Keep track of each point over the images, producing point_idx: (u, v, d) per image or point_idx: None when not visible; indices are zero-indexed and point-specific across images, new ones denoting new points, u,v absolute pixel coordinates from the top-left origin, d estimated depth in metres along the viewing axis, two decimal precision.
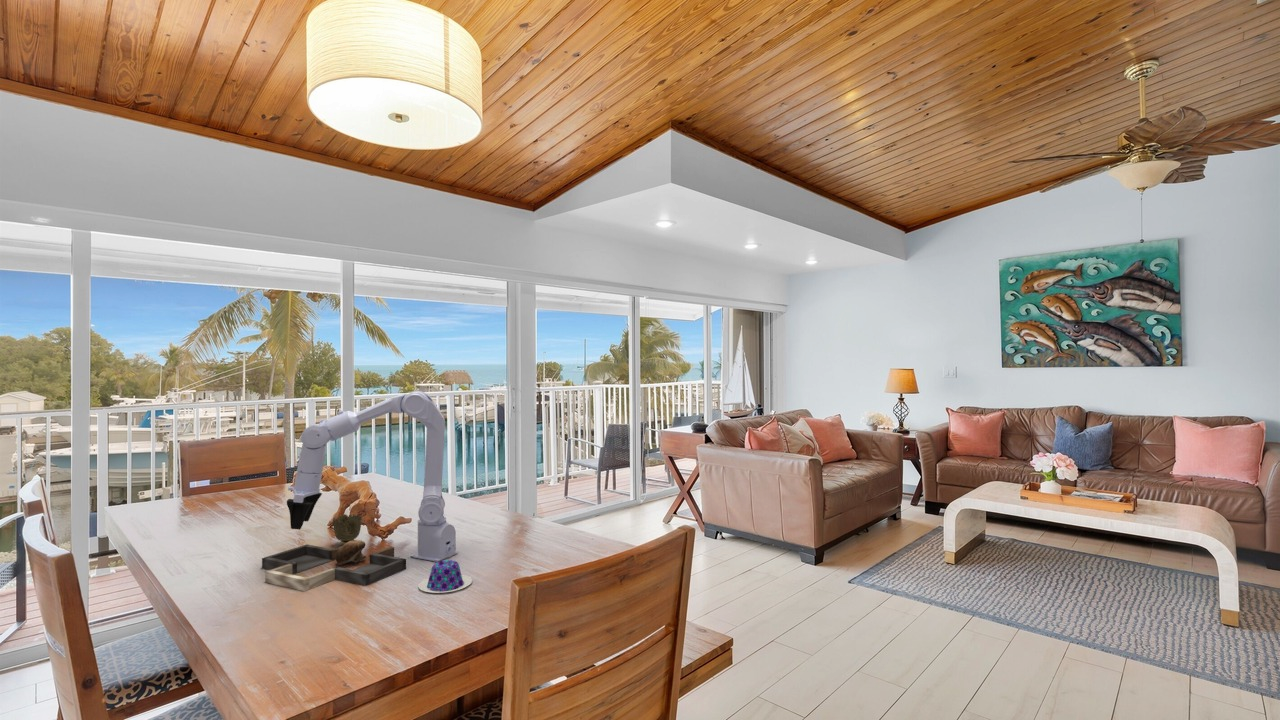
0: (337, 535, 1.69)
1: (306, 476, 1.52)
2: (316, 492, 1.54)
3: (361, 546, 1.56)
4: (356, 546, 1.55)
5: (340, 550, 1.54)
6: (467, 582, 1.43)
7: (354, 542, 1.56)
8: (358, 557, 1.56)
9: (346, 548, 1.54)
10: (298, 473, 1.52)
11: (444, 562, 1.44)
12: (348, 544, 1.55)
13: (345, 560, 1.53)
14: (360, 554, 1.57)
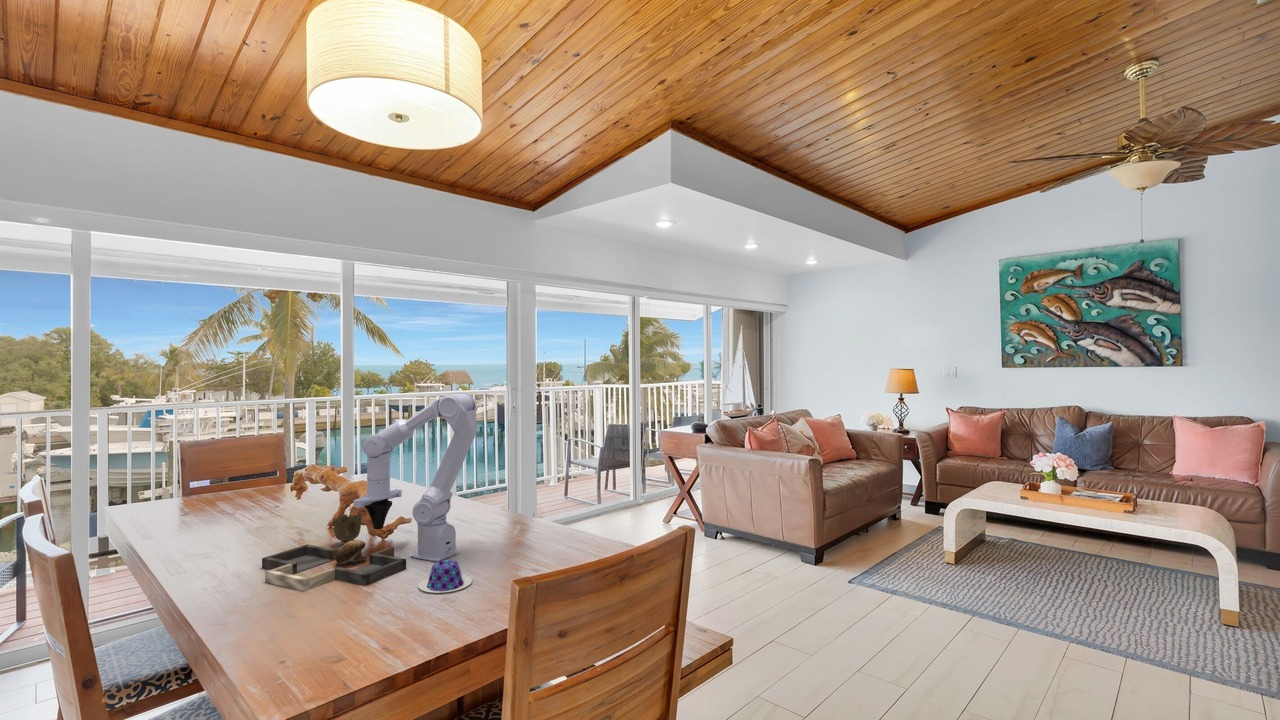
0: (337, 535, 1.69)
1: (370, 483, 1.63)
2: (381, 498, 1.63)
3: (361, 546, 1.56)
4: (356, 546, 1.55)
5: (340, 550, 1.54)
6: (467, 582, 1.43)
7: (354, 542, 1.56)
8: (358, 557, 1.56)
9: (346, 548, 1.54)
10: (367, 480, 1.64)
11: (444, 562, 1.44)
12: (348, 544, 1.55)
13: (345, 560, 1.53)
14: (360, 554, 1.57)
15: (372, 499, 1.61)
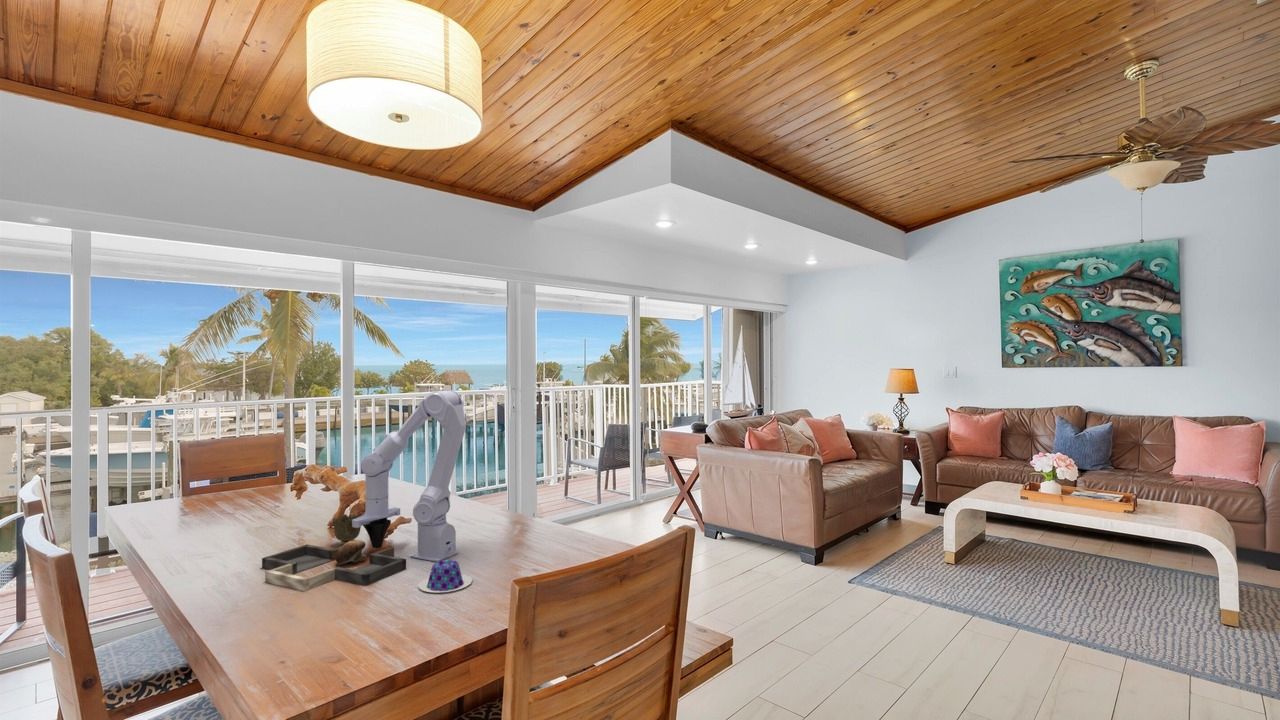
0: (337, 535, 1.69)
1: (368, 502, 1.62)
2: (379, 517, 1.62)
3: (361, 546, 1.56)
4: (356, 546, 1.55)
5: (340, 550, 1.54)
6: (467, 582, 1.43)
7: (354, 542, 1.56)
8: (358, 557, 1.56)
9: (346, 548, 1.54)
10: None
11: (444, 562, 1.44)
12: (348, 544, 1.55)
13: (345, 560, 1.53)
14: (360, 554, 1.57)
15: (370, 518, 1.61)
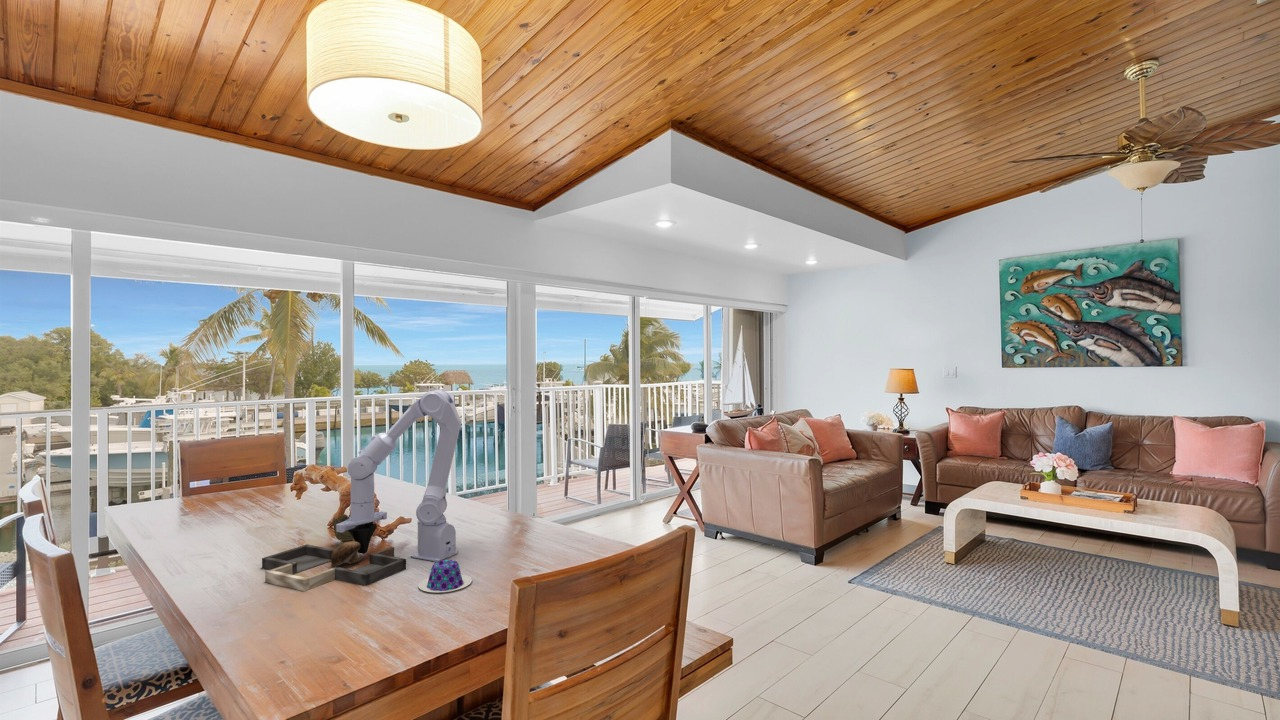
0: (337, 535, 1.69)
1: (353, 506, 1.58)
2: (365, 521, 1.58)
3: (356, 547, 1.55)
4: (351, 547, 1.54)
5: (335, 551, 1.53)
6: (466, 582, 1.43)
7: (349, 543, 1.54)
8: (353, 558, 1.55)
9: (341, 550, 1.53)
10: None
11: (444, 562, 1.44)
12: (343, 545, 1.54)
13: (340, 561, 1.52)
14: (355, 555, 1.55)
15: (355, 523, 1.56)
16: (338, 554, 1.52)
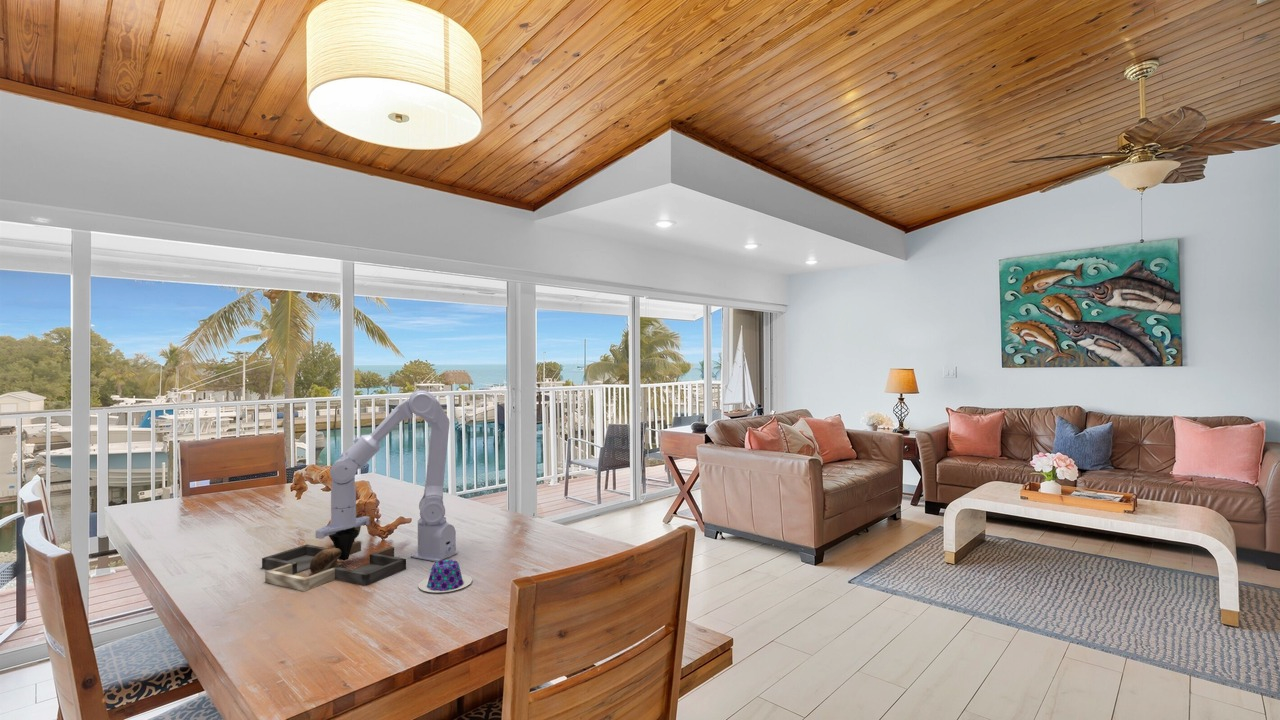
0: None
1: (333, 511, 1.53)
2: (346, 527, 1.53)
3: (337, 554, 1.49)
4: (331, 554, 1.48)
5: (314, 558, 1.48)
6: (467, 582, 1.43)
7: (329, 550, 1.49)
8: (334, 565, 1.49)
9: (320, 556, 1.47)
10: None
11: (444, 562, 1.44)
12: (323, 552, 1.48)
13: (320, 569, 1.47)
14: (336, 562, 1.50)
15: (336, 529, 1.51)
16: (317, 561, 1.47)
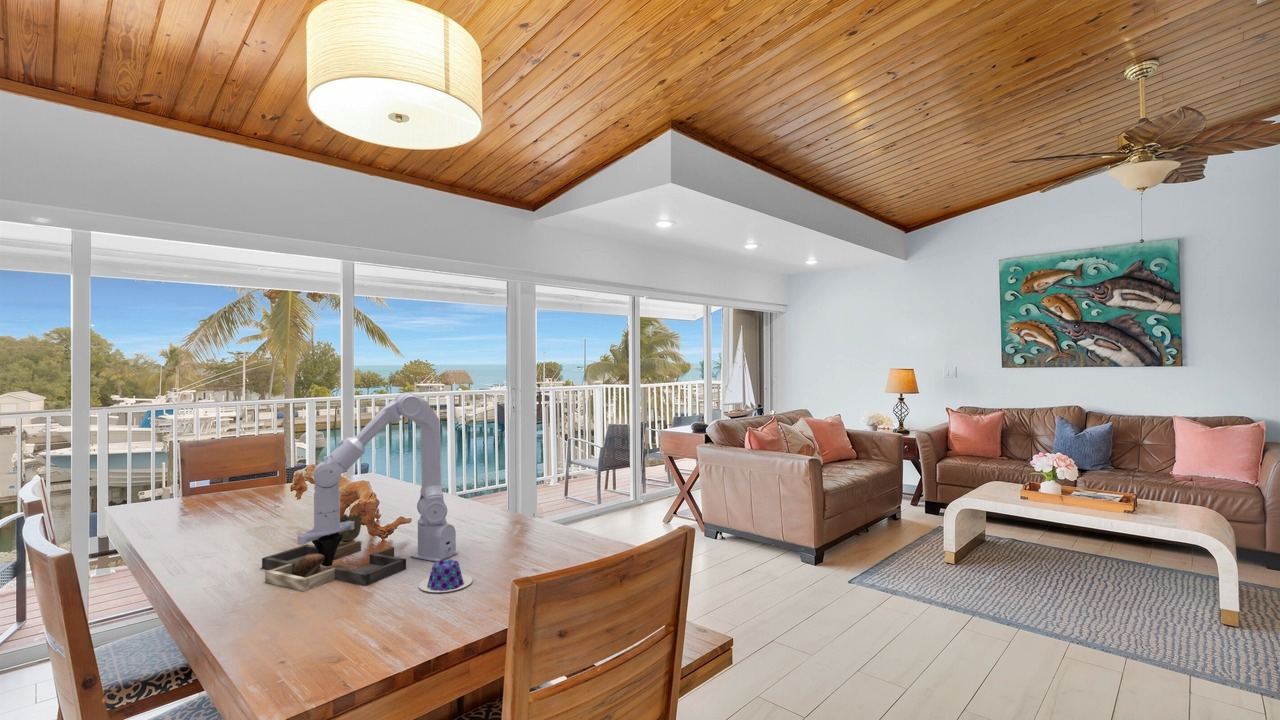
0: None
1: (316, 516, 1.48)
2: (329, 532, 1.48)
3: (319, 560, 1.45)
4: (314, 560, 1.44)
5: (296, 565, 1.43)
6: (467, 582, 1.43)
7: (312, 556, 1.45)
8: (316, 572, 1.45)
9: (302, 563, 1.43)
10: None
11: (444, 562, 1.44)
12: (305, 558, 1.44)
13: (302, 576, 1.42)
14: (319, 569, 1.46)
15: (318, 534, 1.47)
16: (299, 568, 1.42)
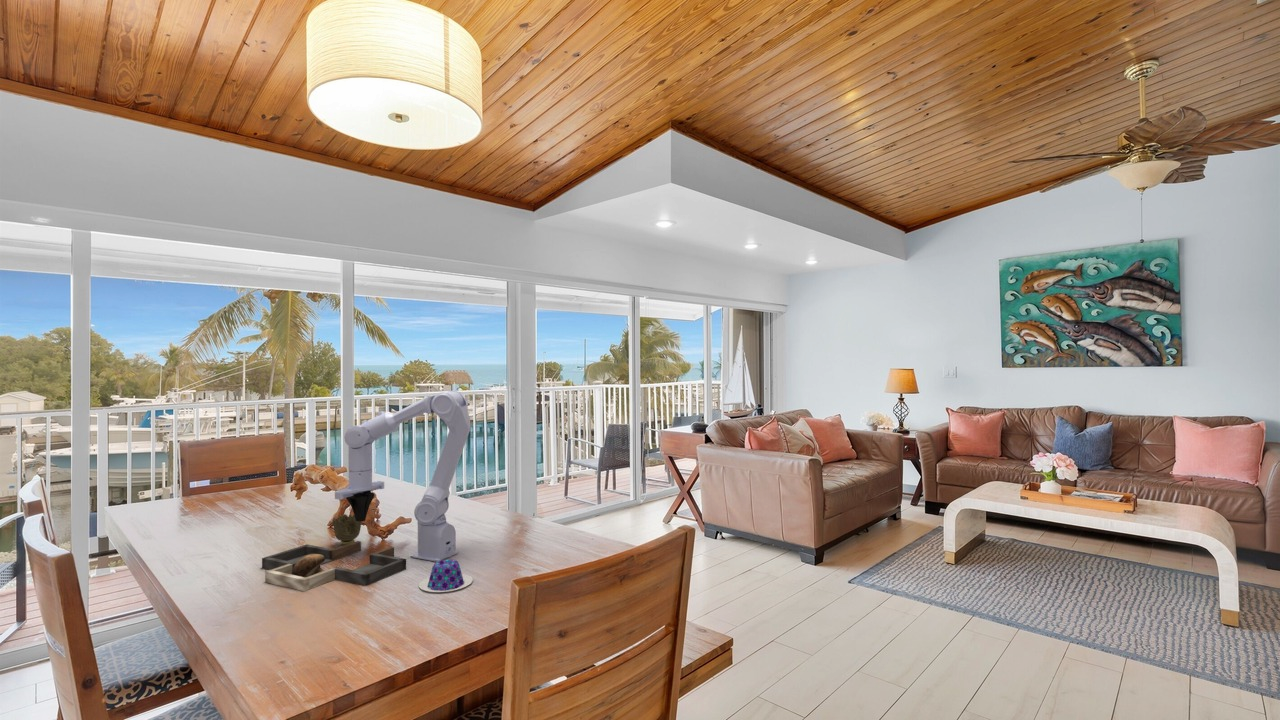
0: (337, 535, 1.69)
1: (351, 474, 1.60)
2: (363, 489, 1.60)
3: (319, 560, 1.45)
4: (314, 561, 1.44)
5: (296, 565, 1.43)
6: (467, 581, 1.43)
7: (312, 556, 1.45)
8: (316, 572, 1.45)
9: (302, 563, 1.43)
10: None
11: (445, 561, 1.44)
12: (305, 558, 1.44)
13: (302, 576, 1.42)
14: (319, 569, 1.46)
15: (354, 491, 1.59)
16: (299, 568, 1.42)
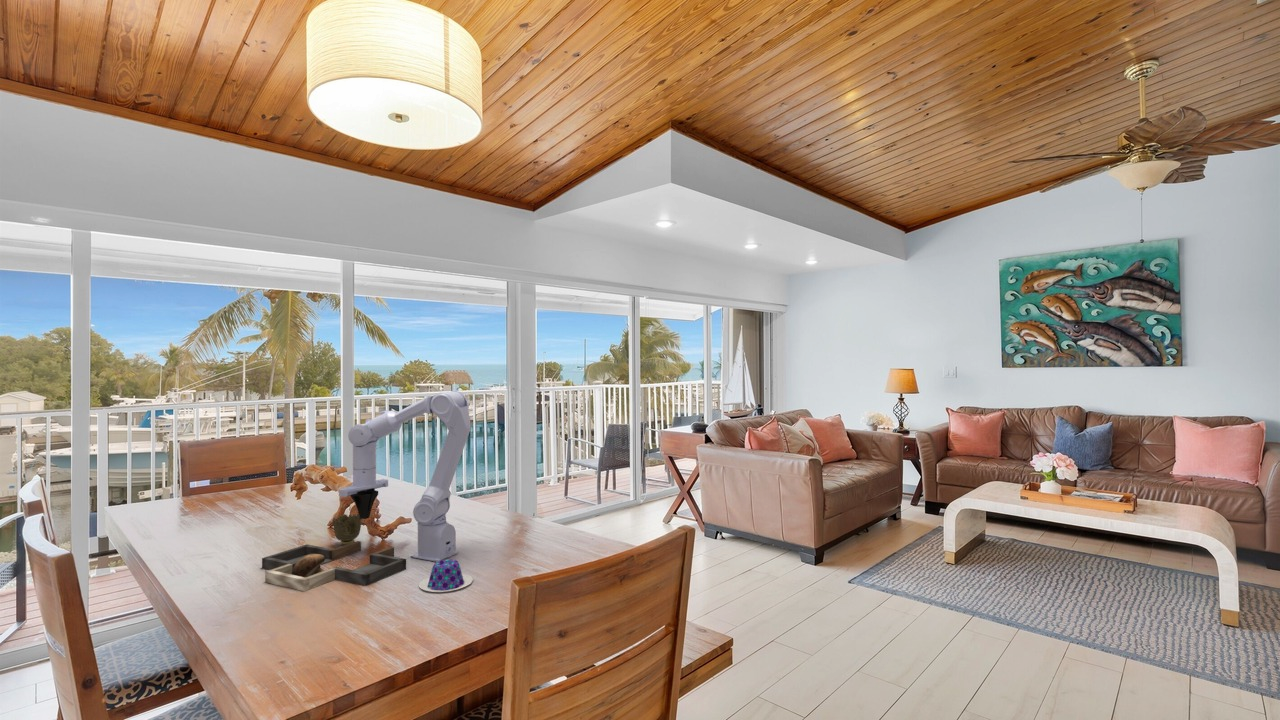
0: (337, 535, 1.69)
1: (355, 472, 1.62)
2: (367, 487, 1.62)
3: (320, 560, 1.45)
4: (314, 561, 1.44)
5: (296, 565, 1.43)
6: (467, 581, 1.44)
7: (312, 556, 1.45)
8: (316, 572, 1.45)
9: (302, 563, 1.43)
10: (353, 470, 1.64)
11: (444, 561, 1.44)
12: (305, 558, 1.44)
13: (302, 576, 1.42)
14: (319, 569, 1.46)
15: (358, 488, 1.61)
16: (299, 568, 1.42)
